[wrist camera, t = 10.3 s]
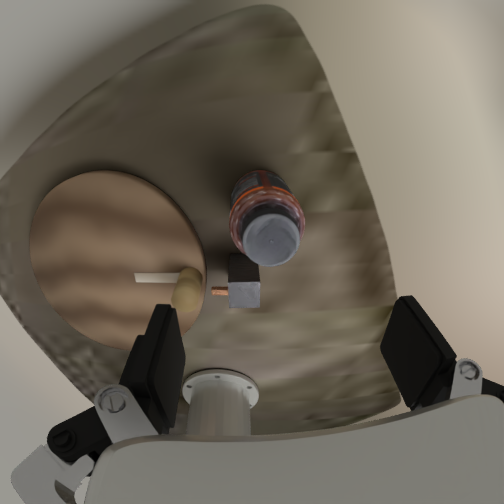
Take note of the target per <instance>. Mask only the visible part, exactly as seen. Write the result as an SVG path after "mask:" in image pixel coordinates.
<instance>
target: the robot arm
mask: <svg viewBox="0 0 504 504" xmlns="http://www.w3.org/2000/svg"><path fill="white" fill-rule="evenodd" d="M380 349H381V353H382V355H383V357H384V359H385V361H386V363H387V365H388V367H389V369H390V371H391V373H392V376H393V378H394V380H395V382H396V384H397V386H398V388H399V391H400V393H401V395H402V397H403V399H404V402H405V404H406V406H407V407H410V409H411V411H410V412H406V413H403V414H399V415H395V416H391V417H387V418H383V419H379V420H374V421H369V422H365V423H360V424H354V425H349V426H343V427H337V428H330V429H323V430H316V431H307V432H298V433H287V434H273V435H251V428H250V408H252V407H253V406H254V405H255V404H256V403H257V401H258V398H259V390H258V387H257V385H256V384H255V382H253V381H252V380H251V379H250V378H248V377H247V376H245V375H242V374H240V373H237V372H234V371H229V370H220V369H213V370H205V371H200V372H197V373H195V374H193V375H191V376H189V377H188V378H187V379H186V380H185V382H184V384H183V389H182V394H183V397H184V399H185V400H186V401H187V402H188V403H189V404H190V407H189V415H188V423H187V431H186V435H172V434H170V435H161V434H169V428H173V427H174V424H175V418H176V412H177V406H178V400H179V394H180V388H181V382H182V377H183V371H184V366H185V351H184V347H183V342H182V337H181V332H180V327H179V322H178V317H177V311H176V308H172V307H171V305H170V304H156V306H155V308H154V311H153V313H152V316H151V318H150V321H149V324H148V326H147V329H146V332H145V334H144V335H138V336H137V337H136V339H135V342H134V344H133V347H132V350H131V352H130V355H129V357H128V360H127V363H126V365H125V368H124V371H123V374H122V376H121V379H120V382H119V384H111V385H107V386H105V387H103V388H102V389H100V390H99V391H98V392H97V394H96V396H95V398H94V405H95V406H93V407H91V408H89V409H88V410H86V411H84V412H82V413H80V414H78V415H76V416H74V417H72V418H70V419H68V420H66V421H64V422H62V423H60V424H58V425H56V426H54V427H53V428H52V429H51V430H50V432H49V434H48V437H47V444H46V445H45V446H44V447H43V446H42V445H40V446H39V447H38V448H37V449H36V450H35V451H34V452H32V453H31V454H30V455H29V456H28V457H27V458H26V459H25V460H24V461H23V462H22V463H21V464H19V465H18V466H17V467H16V468H15V469H14V470H13V472H12V474H11V483H12V485H13V487H14V489H15V490H16V492H17V493H18V494H19V496H20V497H21V499H22V500H23V501H24V503H26V504H76V502H75V498H74V494H75V491H76V489H77V488H78V487H79V486H80V485H81V484H82V483H81V481H82V480H83V479H84V478H85V477H86V476H89V477H90V476H91V478H90V481H89V485H88V488H87V492H86V497H85V501H84V504H504V386H502V385H500V384H497V383H495V382H492V381H490V380H487V379H485V378H482V370H481V367H480V366H479V365H478V364H477V363H476V362H475V361H473V360H471V359H467V358H466V359H465V358H464V359H460V360H459V361H458V362H456V360H455V358H456V357H457V355H456V354H455V352H454V351H453V349H452V348H451V347H450V345H449V344H448V342H447V341H446V339H445V338H444V337H443V335H442V334H441V332H440V331H439V330H438V328H437V327H436V326H435V324H434V323H433V322H432V320H431V319H430V318H429V316H428V315H427V314H426V312H425V311H424V310H423V308H422V307H421V306H420V304H419V303H418V302H417V301H416V299H415V298H414V297H413V296H401V297H399V299H398V300H397V301H396V302H395V305H394V308H393V311H392V314H391V317H390V320H389V323H388V326H387V328H386V331H385V334H384V337H383V339H382V342H381V345H380Z"/></svg>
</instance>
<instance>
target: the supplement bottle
mask: <svg viewBox="0 0 504 504" xmlns="http://www.w3.org/2000/svg"><path fill="white" fill-rule="evenodd" d="M229 228H230V234H231V237H232V239H233V241H234V243H235V245H236V246H237V248H238V249H239V250H240V251H241V252H242V253H244V254H245V255H247V256H248V257H249V258H250V259H251V260H252V261H253V262H255V263H257V264H259V265H262V266H267V267H272V266H278V265H281V264H284V263H285V262H287V261H289V260H290V259H291V258H292V257H293V256H294V254H295V253H296V252H297V249H298V247H299V244H300V241H301V239H302V237H303V234H304V229H305V217H304V214H303V211H302V208H301V206H300V204H299V203H298V201H297V200H296V198H295V197H294V195H293V193H292V192H291V191H290V189H289V188H288V186H287V185H286V183H285V182H284V181H283V180H282V179H281V178H280V177H279V176H277V175H276V174H275V173H272V172H269V171H264V170H257V171H252V172H249V173H247V174H245V175H244V176H243V177H241V178H240V179H239V180H238V182H237V183H236V185H235V186H234V189H233V192H232V197H231V208H230V221H229Z"/></svg>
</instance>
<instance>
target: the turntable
mask: <svg viewBox="0 0 504 504" xmlns="http://www.w3.org/2000/svg"><path fill="white" fill-rule="evenodd" d="M29 247H30V257H31V263H32V267H33V271H34V274H35V277H36V279H37V282H38V284H39V286H40V288H41V290H42V292H43V294H44V295H45V297H46V299H47V300H48V302H49V303H50V304H51V306H52V307H53V308H54V310H55V311H56V312H57V313H58V314H59V315H60V316H61V317H62V318H63V319H64V320H65V321H66V322H67V323H68V324H69V325H71V326H72V327H73V328H74V329H76V330H77V331H79V332H80V333H81V334H83V335H85V336H86V337H88V338H90V339H92V340H94V341H96V342H98V343H101V344H104V345H106V346H109V347H113V348H117V349H123V350H132V347H133V344H134V342H135V339H136V337H137V336H138V335H144V334H145V332H146V329H147V326H148V324H149V321H150V318H151V316H152V313H153V311H154V308H155V306H156V304H170V305H171V307H172V308H176V311H177V317H178V322H179V327H180V332H181V336H183V335H184V334H185V333H186V332H187V331H188V330H189V329H190V328H191V326H192V325H193V323H194V322H195V321H196V319H197V317H198V315H199V313H200V310H201V307H202V304H203V300H204V295H205V289H206V282H207V268H206V261H205V255H204V252H203V248H202V245H201V242H200V240H199V238H198V235H197V233H196V231H195V229H194V228H193V226H192V224H191V222H190V221H189V219H188V218H187V216H186V215H185V214H184V213H183V211H182V210H181V209H180V207H179V206H178V205H177V204H176V203H175V202H174V201H173V200H172V199H171V198H170V197H169V196H167V195H166V194H165V193H164V192H162V191H161V190H160V189H158V188H157V187H155V186H154V185H152V184H150V183H149V182H147V181H145V180H143V179H141V178H138V177H136V176H134V175H131V174H127V173H123V172H120V171H111V170H97V171H90V172H86V173H82V174H80V175H77V176H75V177H72V178H70V179H68V180H66V181H64V182H62V183H61V184H59V185H58V186H56V187H55V188H53V189H52V190H51V191H50V192H49V193H48V194H47V195H46V196H45V198H44V199H43V200H42V202H41V203H40V205H39V207H38V209H37V211H36V213H35V215H34V218H33V221H32V225H31V230H30V240H29Z"/></svg>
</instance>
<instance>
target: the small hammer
mask: <svg viewBox="0 0 504 504" xmlns="http://www.w3.org/2000/svg"><path fill="white" fill-rule="evenodd" d="M211 292H212V295H229V308H251V307H260V277H259V267H258V264H257V263H255V262H253V261H252V260H251V259H250V258H249V257H248V256H247V255H245V254H230V262H229V276H228V287H212V289H211Z"/></svg>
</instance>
